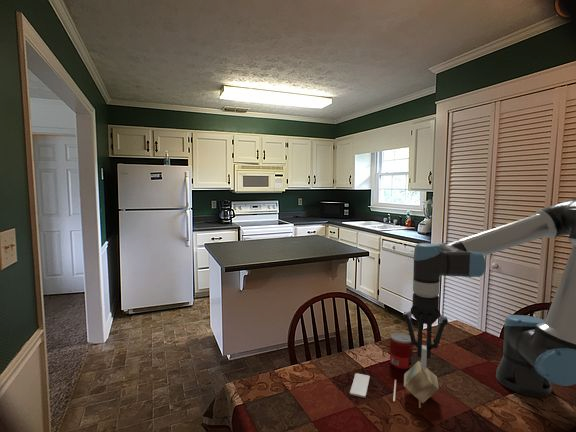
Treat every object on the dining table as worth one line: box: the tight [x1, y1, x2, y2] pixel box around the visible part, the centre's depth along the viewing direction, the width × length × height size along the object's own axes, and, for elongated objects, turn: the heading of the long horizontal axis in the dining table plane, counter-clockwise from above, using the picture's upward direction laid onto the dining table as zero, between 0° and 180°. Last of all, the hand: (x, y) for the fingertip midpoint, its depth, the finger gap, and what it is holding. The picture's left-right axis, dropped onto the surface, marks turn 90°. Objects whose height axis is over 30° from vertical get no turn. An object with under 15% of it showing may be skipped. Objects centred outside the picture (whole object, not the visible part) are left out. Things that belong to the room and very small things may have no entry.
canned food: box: [389, 332, 414, 370], centre depth 120 cm, size 8×8×11 cm
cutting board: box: [349, 372, 422, 409], centre depth 104 cm, size 30×12×1 cm, turn 69°
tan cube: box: [403, 360, 440, 404], centre depth 101 cm, size 7×7×7 cm
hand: (423, 367), depth 100 cm, fingers closed
